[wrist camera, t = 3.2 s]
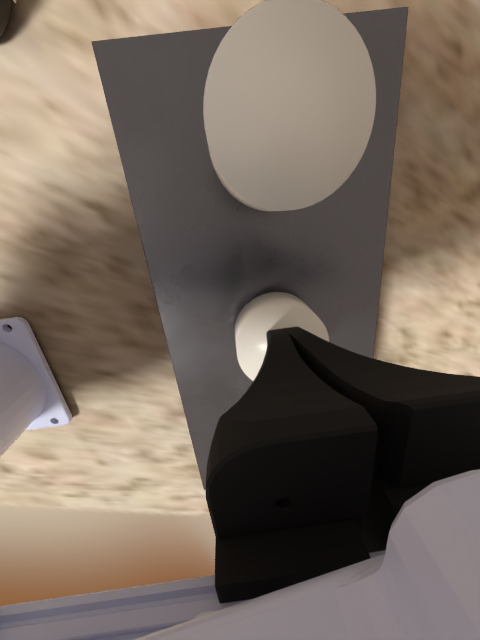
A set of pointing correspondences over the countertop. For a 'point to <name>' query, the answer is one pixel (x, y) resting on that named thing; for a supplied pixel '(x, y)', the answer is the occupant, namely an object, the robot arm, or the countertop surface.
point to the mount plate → (242, 214)
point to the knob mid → (270, 326)
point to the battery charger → (5, 13)
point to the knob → (288, 104)
